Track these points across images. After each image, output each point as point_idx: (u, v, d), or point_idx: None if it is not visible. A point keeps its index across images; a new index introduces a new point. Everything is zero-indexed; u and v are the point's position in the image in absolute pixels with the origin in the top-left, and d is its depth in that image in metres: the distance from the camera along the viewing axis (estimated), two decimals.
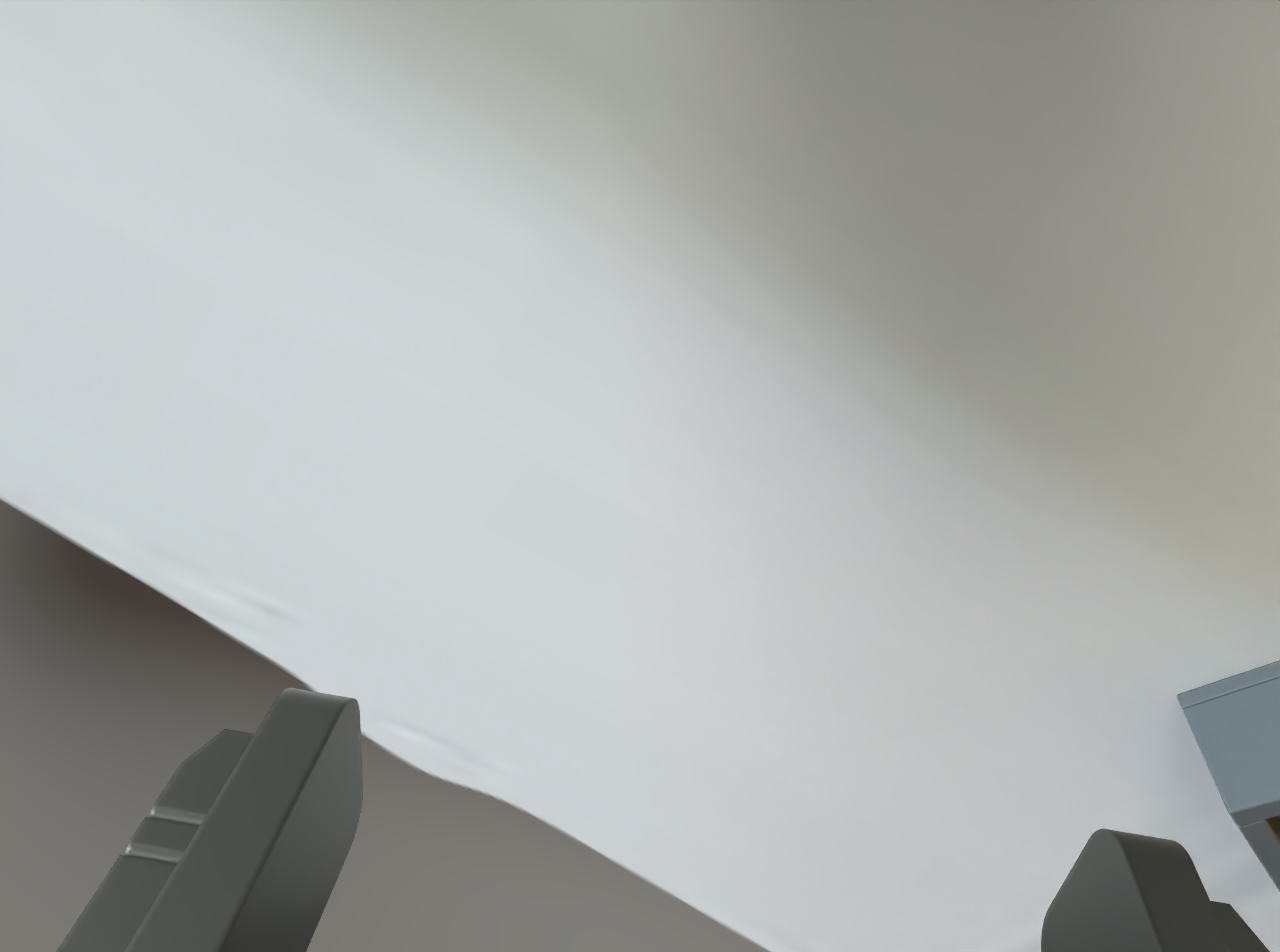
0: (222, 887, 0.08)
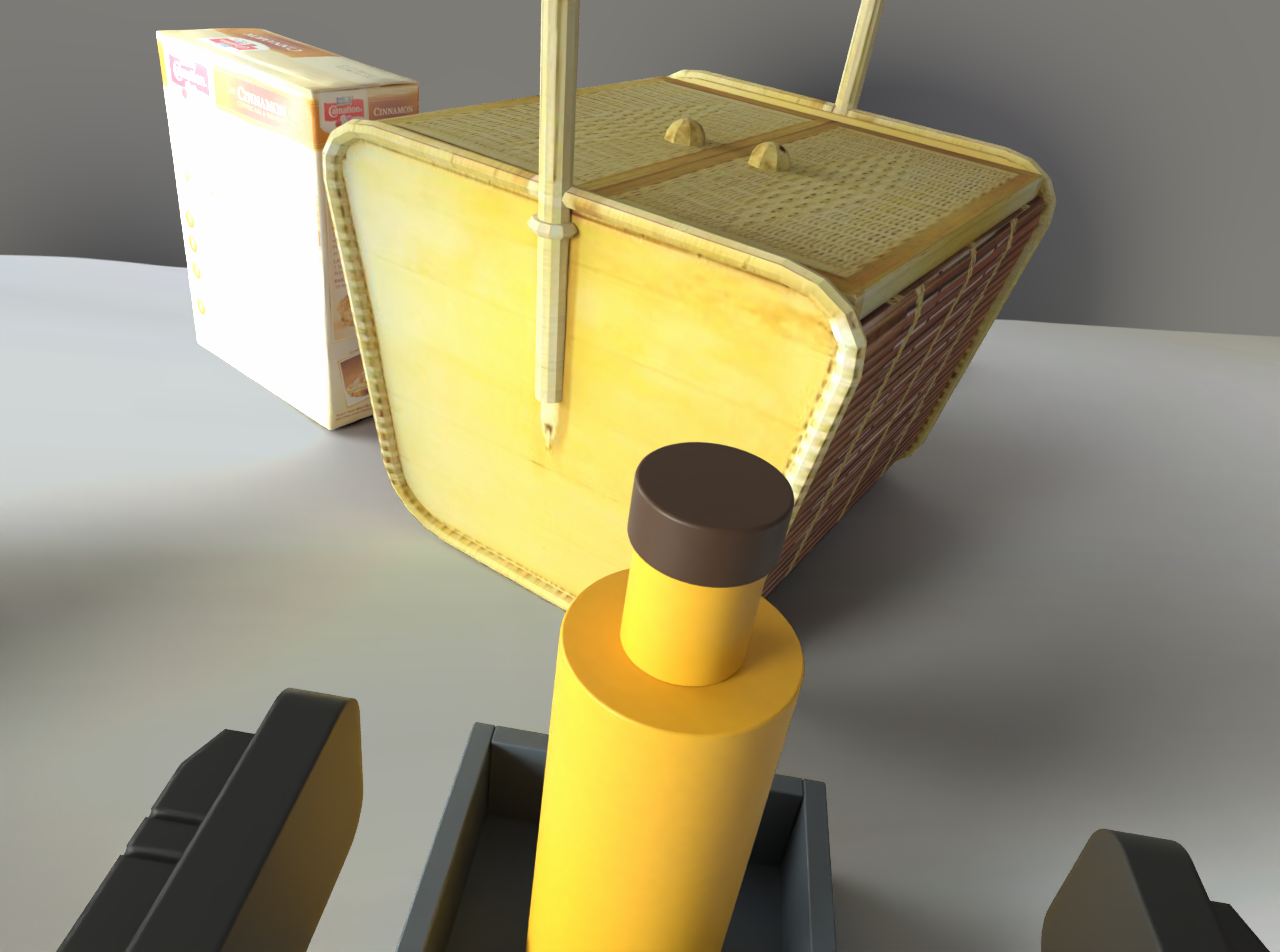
0: (222, 887, 0.08)
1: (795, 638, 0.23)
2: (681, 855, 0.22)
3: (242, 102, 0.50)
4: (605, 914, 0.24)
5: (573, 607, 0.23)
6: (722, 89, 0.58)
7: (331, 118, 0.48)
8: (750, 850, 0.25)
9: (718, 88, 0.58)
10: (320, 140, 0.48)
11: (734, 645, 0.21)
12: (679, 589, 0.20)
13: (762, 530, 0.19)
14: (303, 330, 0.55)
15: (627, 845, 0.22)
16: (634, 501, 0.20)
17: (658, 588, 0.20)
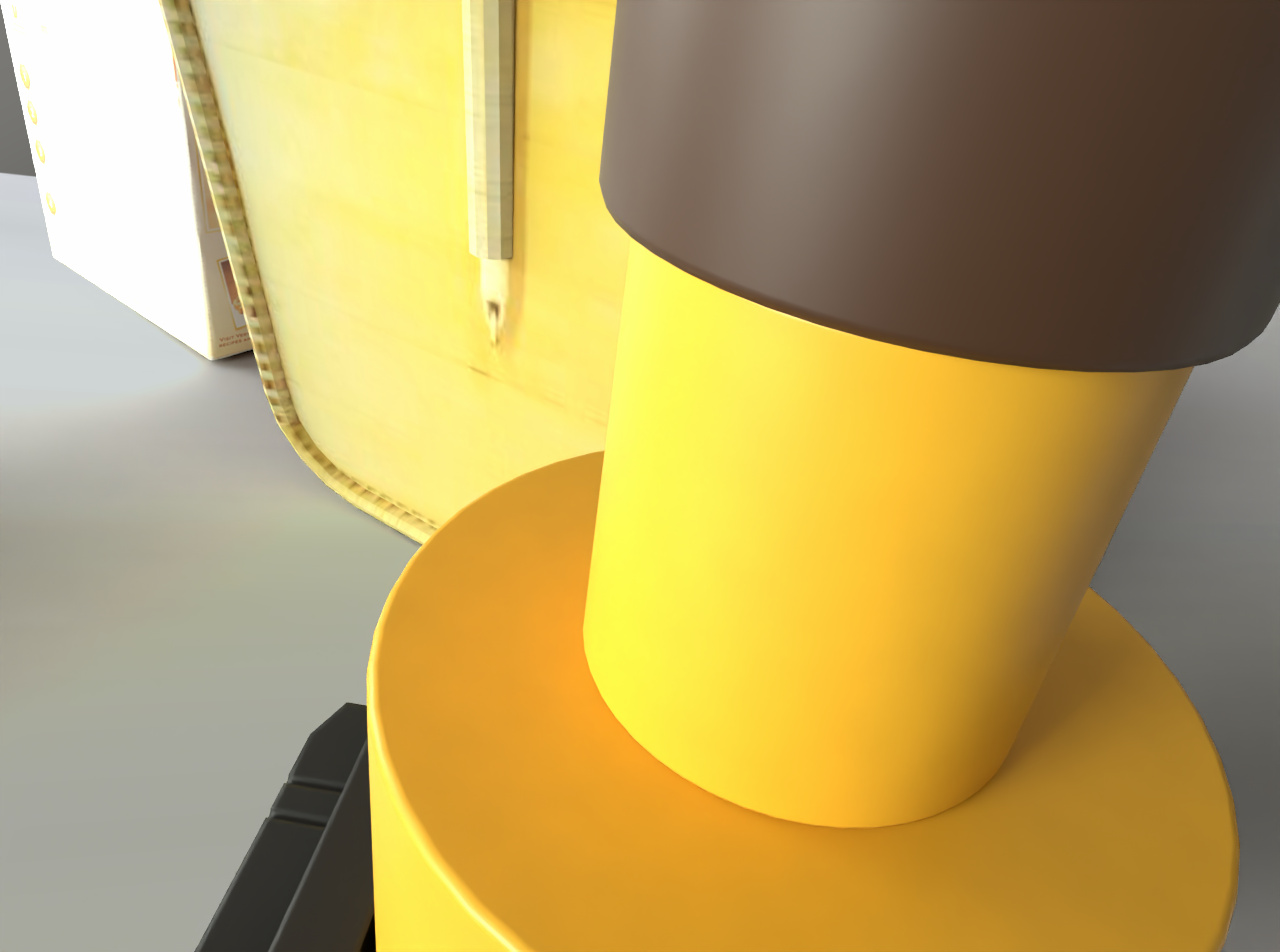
0: None
1: (1141, 642, 0.07)
2: None
3: None
4: None
5: (436, 545, 0.07)
6: None
7: None
8: None
9: None
10: None
11: (1035, 667, 0.05)
12: (849, 398, 0.04)
13: None
14: (168, 216, 0.39)
15: None
16: None
17: (740, 408, 0.04)
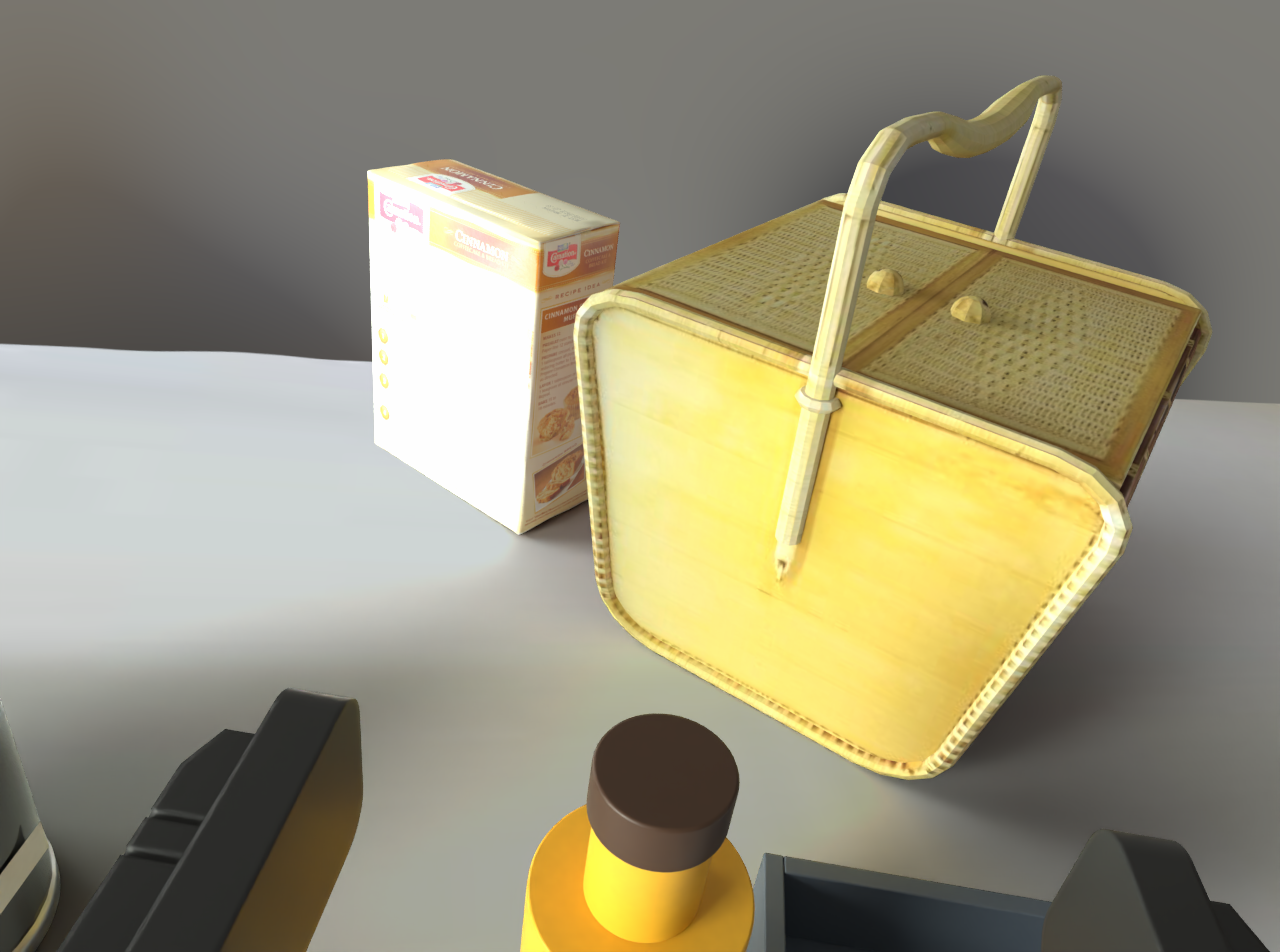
0: (222, 887, 0.08)
1: (747, 879, 0.25)
2: None
3: (459, 243, 0.55)
4: None
5: (540, 851, 0.25)
6: (881, 214, 0.62)
7: (551, 264, 0.52)
8: None
9: (877, 213, 0.62)
10: (542, 284, 0.52)
11: (686, 907, 0.23)
12: (632, 869, 0.21)
13: (707, 826, 0.21)
14: (501, 445, 0.59)
15: None
16: (591, 787, 0.22)
17: (614, 865, 0.22)
